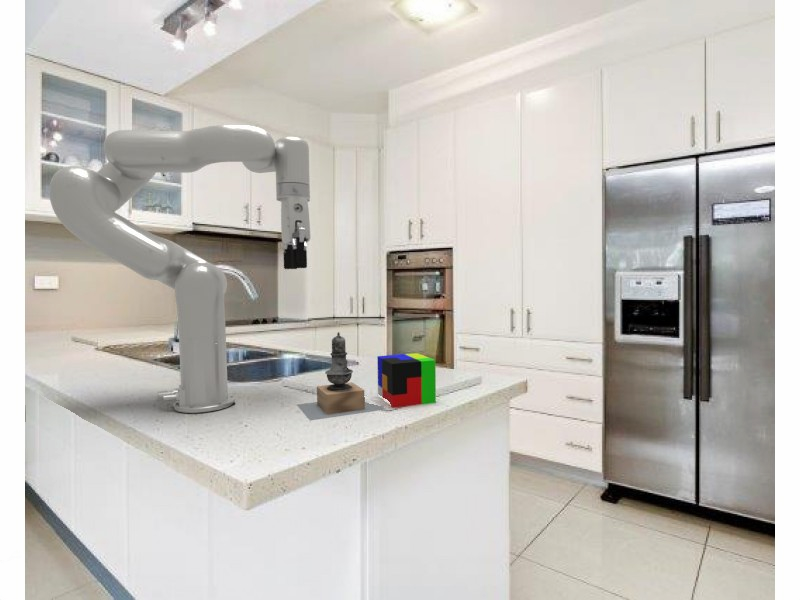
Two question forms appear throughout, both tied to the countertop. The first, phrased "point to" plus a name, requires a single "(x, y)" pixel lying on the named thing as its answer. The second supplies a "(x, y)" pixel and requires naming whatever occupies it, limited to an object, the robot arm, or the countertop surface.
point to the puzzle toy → (407, 379)
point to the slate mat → (317, 413)
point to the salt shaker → (339, 366)
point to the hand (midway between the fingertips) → (295, 268)
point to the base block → (340, 399)
